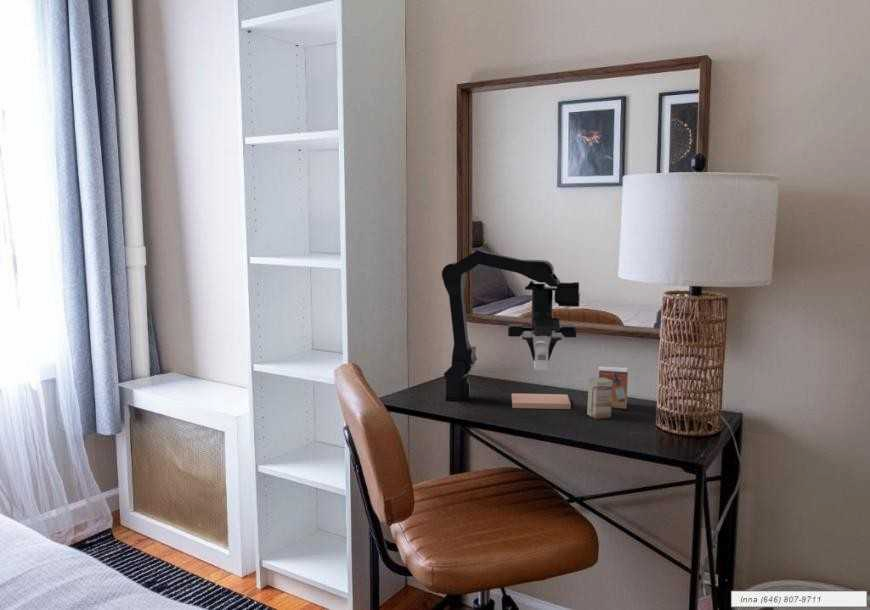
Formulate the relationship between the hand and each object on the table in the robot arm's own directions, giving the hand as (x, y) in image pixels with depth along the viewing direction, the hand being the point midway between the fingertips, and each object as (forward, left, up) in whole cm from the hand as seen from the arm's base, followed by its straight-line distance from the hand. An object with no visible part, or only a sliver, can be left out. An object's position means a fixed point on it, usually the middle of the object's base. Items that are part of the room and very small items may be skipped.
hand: (540, 360), depth 203 cm
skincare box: (+15, -11, -13) cm, 23 cm away
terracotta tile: (0, 0, -12) cm, 13 cm away
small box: (+20, 0, -13) cm, 24 cm away
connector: (0, 0, -2) cm, 2 cm away
